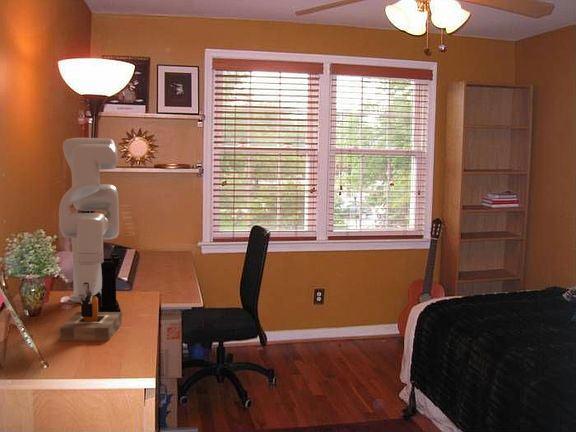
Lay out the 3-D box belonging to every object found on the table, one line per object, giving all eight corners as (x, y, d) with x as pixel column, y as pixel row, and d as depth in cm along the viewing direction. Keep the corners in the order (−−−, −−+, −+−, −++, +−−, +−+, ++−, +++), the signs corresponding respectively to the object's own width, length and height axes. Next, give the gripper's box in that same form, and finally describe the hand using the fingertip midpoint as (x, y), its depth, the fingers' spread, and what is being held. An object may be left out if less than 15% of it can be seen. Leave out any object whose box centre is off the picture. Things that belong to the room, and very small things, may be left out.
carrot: (94, 335, 184) (91, 287, 182) (80, 334, 186) (76, 286, 183) (103, 329, 189) (100, 283, 187) (89, 328, 190) (85, 282, 188)
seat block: (77, 324, 195) (77, 311, 195) (121, 324, 196) (121, 311, 195) (60, 340, 179) (60, 326, 179) (108, 340, 180) (108, 326, 179)
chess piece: (121, 316, 204) (120, 257, 202) (97, 318, 201) (95, 259, 199) (119, 310, 212) (118, 253, 209) (95, 312, 209) (93, 254, 206)
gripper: (86, 252, 193) (87, 304, 195) (68, 262, 176) (70, 320, 178) (110, 252, 193) (111, 304, 195) (94, 263, 176) (96, 320, 178)
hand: (91, 312), depth 187 cm, fingers open, 9 cm apart
